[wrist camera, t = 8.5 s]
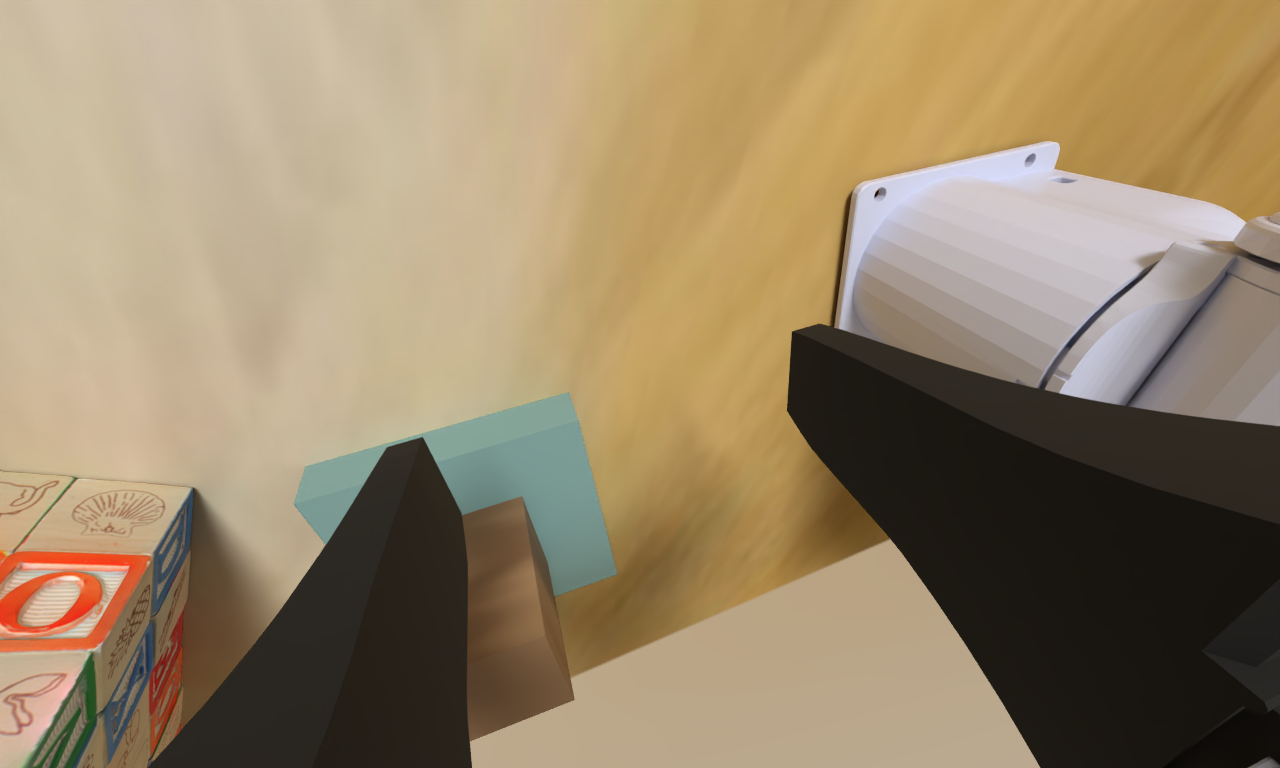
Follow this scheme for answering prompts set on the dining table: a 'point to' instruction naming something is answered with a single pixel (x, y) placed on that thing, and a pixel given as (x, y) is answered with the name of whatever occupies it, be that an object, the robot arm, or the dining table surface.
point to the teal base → (496, 483)
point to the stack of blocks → (90, 620)
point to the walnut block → (510, 622)
